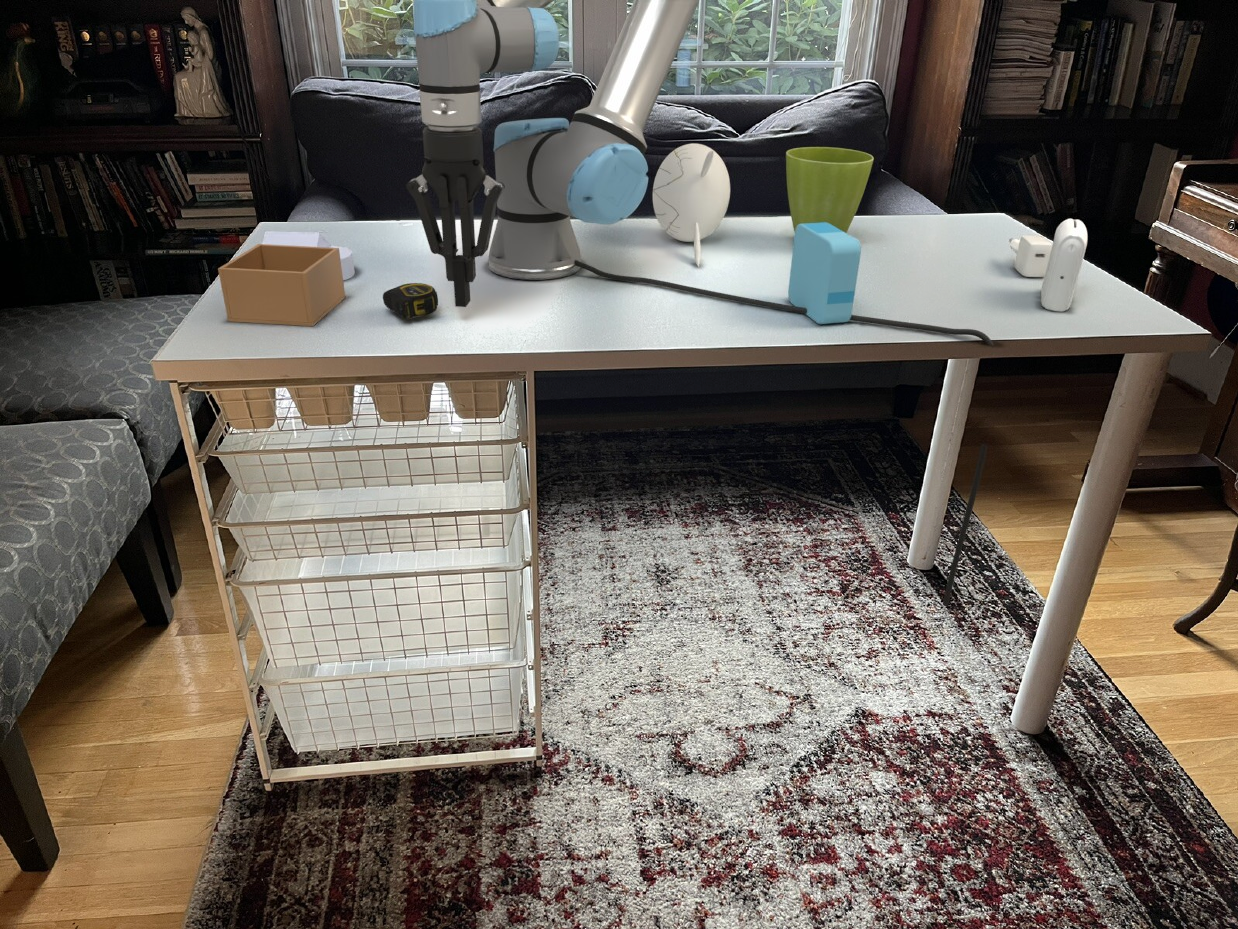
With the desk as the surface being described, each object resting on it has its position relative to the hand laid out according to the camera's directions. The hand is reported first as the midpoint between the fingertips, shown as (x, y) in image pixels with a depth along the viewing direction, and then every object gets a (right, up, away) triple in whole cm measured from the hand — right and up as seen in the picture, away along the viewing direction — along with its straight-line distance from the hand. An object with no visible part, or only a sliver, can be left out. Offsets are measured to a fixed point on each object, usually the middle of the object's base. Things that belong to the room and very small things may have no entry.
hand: (462, 303), depth 129 cm
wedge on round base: (-27, +7, +18) cm, 33 cm away
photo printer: (+89, +2, +13) cm, 90 cm away
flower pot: (+58, +17, +38) cm, 71 cm away
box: (-26, 0, +3) cm, 26 cm away
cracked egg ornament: (+35, +16, +36) cm, 53 cm away
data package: (+51, 0, +7) cm, 52 cm away
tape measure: (-8, -2, +2) cm, 8 cm away
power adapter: (+91, +11, +28) cm, 96 cm away
